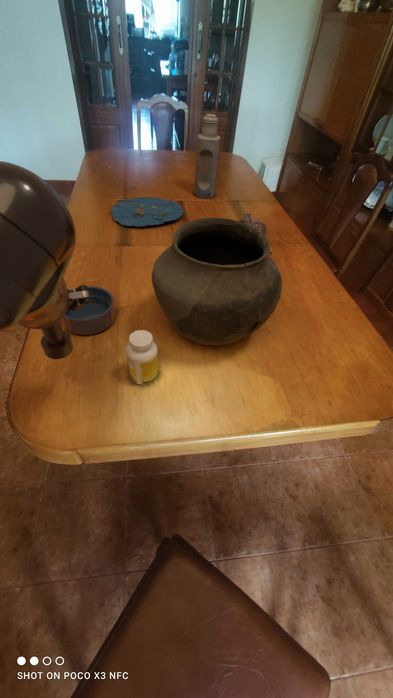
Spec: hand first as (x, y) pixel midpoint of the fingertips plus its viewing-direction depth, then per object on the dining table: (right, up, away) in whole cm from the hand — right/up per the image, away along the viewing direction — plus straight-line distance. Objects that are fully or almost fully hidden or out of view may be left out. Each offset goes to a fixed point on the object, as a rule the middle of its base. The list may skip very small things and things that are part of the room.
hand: (46, 311), depth 52 cm
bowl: (-3, +2, +31) cm, 31 cm away
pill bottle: (+13, -12, +20) cm, 26 cm away
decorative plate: (+5, +48, +76) cm, 90 cm away
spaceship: (+46, +33, +66) cm, 87 cm away
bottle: (+28, +65, +94) cm, 118 cm away
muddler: (0, -6, +4) cm, 7 cm away
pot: (+29, -1, +32) cm, 43 cm away
